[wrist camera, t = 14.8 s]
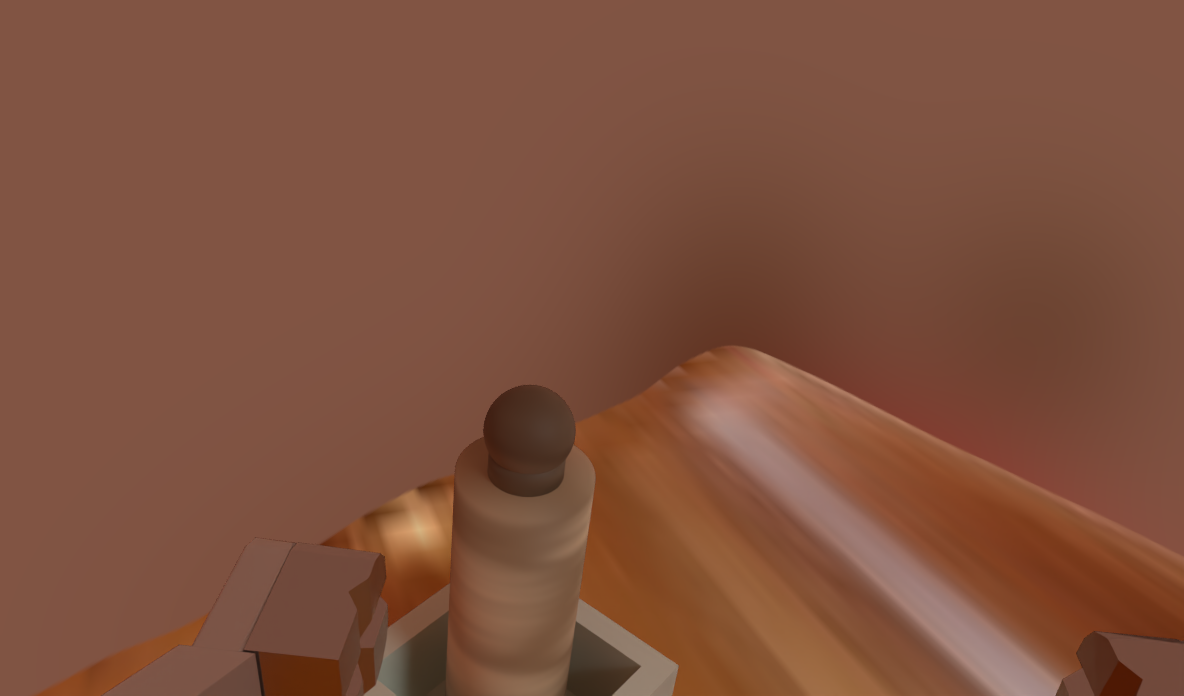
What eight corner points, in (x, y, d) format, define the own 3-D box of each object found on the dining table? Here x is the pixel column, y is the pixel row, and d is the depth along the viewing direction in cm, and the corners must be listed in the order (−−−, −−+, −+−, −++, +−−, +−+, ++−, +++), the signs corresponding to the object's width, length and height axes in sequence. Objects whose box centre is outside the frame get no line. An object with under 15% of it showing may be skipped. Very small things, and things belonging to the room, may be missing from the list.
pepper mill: (498, 673, 40) (526, 338, 32) (581, 736, 38) (635, 395, 29) (418, 741, 37) (426, 390, 28) (504, 814, 35) (540, 457, 26)
